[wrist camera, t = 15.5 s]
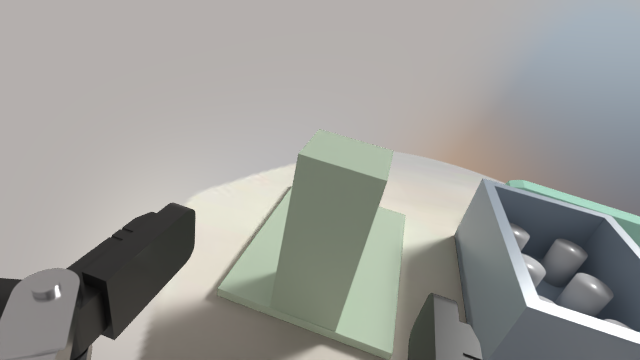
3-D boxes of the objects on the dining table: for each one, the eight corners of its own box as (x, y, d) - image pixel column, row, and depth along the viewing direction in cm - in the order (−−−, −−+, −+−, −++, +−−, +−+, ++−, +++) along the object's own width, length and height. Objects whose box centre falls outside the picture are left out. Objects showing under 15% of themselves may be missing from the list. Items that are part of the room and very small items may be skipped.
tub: (569, 270, 30) (611, 215, 27) (667, 448, 18) (761, 384, 15) (454, 234, 31) (482, 178, 29) (474, 378, 19) (527, 306, 16)
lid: (402, 221, 32) (446, 111, 27) (388, 362, 19) (465, 205, 14) (295, 187, 33) (316, 75, 28) (216, 297, 21) (229, 133, 16)
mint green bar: (515, 170, 32) (867, 279, 26) (500, 169, 38) (786, 259, 31) (491, 229, 33) (828, 349, 27) (480, 220, 38) (756, 317, 32)
